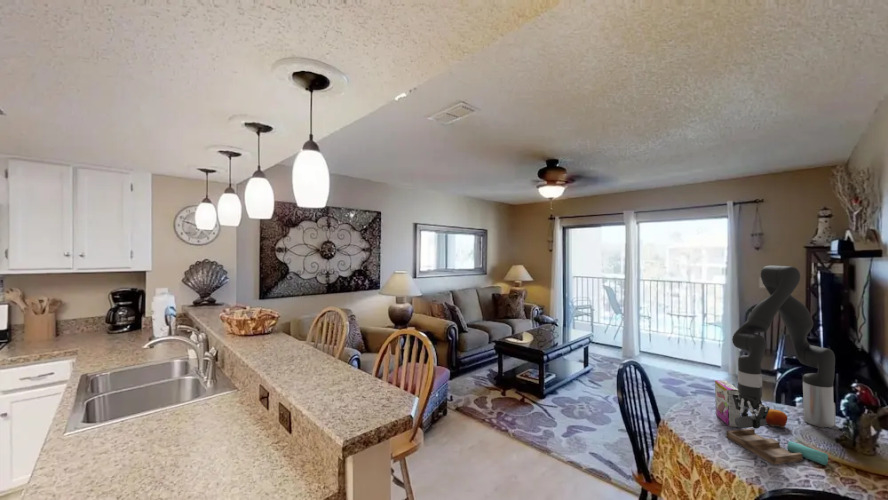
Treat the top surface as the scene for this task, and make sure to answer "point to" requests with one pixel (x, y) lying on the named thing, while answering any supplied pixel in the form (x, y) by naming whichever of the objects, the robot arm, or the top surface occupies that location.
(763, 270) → the robot arm
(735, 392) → the candy bar box
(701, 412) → the top surface
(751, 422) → the gray rounded cylinder
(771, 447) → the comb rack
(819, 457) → the teal rod
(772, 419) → the fruit
